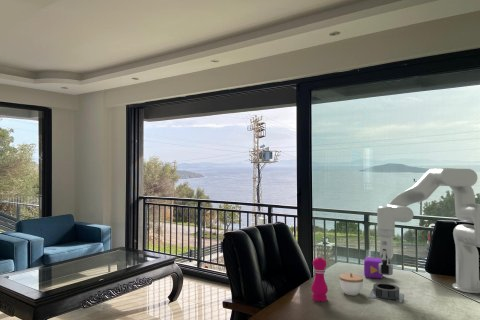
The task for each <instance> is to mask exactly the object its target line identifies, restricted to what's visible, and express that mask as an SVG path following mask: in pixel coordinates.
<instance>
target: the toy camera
mask: <svg viewBox="0 0 480 320" xmlns="http://www.w3.org/2000/svg"><path fill="white" fill-rule="evenodd" d="M381 262H382V258H381V257H380V258H379V257H371V256H370V255H369V256H366V257H365V259H364V262H363V274H364V277H365V278H371V279H379V280H380V279H382V278H383V276H384V275H383V274H380V273H379V263H381Z"/></svg>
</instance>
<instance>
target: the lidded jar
mask: <svg viewBox="0 0 480 320" xmlns="http://www.w3.org/2000/svg"><path fill="white" fill-rule="evenodd" d="M339 285H340V288H341V291H343V292H344V294H345V295H348V296H358V295H359V294H360V292H361V291H362V290H363V285H364V277H362V275H359V274H356V273H353V272H350V273H341V274H339Z"/></svg>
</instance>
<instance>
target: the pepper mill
mask: <svg viewBox="0 0 480 320" xmlns="http://www.w3.org/2000/svg"><path fill="white" fill-rule="evenodd" d="M312 266H313V267H314V268H313V272H314V280H313V282H312V284H311V288H310V289H311V292H312V300H313V301H315V302H320V301H321V302H326V301H327V294H328V291H329V289H328V285H327V283H326V281H325V273H326V267H327V261H326V259H325V258H323V257H322V254H318V255H317V257H315V258H314V259H313V260H312Z"/></svg>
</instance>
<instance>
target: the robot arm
mask: <svg viewBox="0 0 480 320" xmlns="http://www.w3.org/2000/svg"><path fill="white" fill-rule="evenodd" d="M477 182H478V174H477V173H476V171H474V170H473V169H471V168H449V167H434V168H433V167H432V168H430V169H428V170H426V172H425V173H424V174H423V175H422V176H421V177H420V178H419V179H418V180H417V181H416V182H415V183H414V184H413V185H412V186H411V187H409V188H408V189H406V190H404V191H402V192H400V193H399V194H397V195H395V197H393V198H392V199H391V200H389V202H388V204H387V205H379V206H378V207H377V211H376V213H377V215H376V216H377V217H376V218H377V219H376V220H377V221H376V223H377V224H376V227H377V228H376V231H377V232H376V236H378V237H379V257H380V259H382V262H381V273H382V274H389V265H388V264H391V260H392V259H393V257H394V245H393V244H394V241H393V238H395V236H396V235H395V232H396V228H395V227H396V226H395V225H396V222H398V223H409V222H411V221H412V220H413V218H414V212H413V210H412V208H410V207H408V206H411V205H413V204H415V203H416V204H417V203H421V202H424V201H426V200H428V199H429V197H431V196H432V195H433V193H434V192H435V191H437V189H438V188H439V187H449V188H450V189H451V190H452V192H453V197H454V209H455V210H454V211H455V212H454V213H455V216H456V219H457V220H459V221H461V222H463V223H464V222H465V223H464V224H463V223H462V224H460V223H459V224H458V225H456V226H455V227H454V228H453V232H452V235H453V240H454V244H455V245H454V246H455V283H453V284H452V288H453V289H454V290H457V291H460V292H463V293H470V294H480V268H479V267H480V262H479V261H480V259H479V258H480V255H479V250H478V248H480V203H476V197H475V196H476V195H475V190H474V189H473V187H472V186H474V185H475V184H477ZM466 223H469V224H466ZM470 223H471V224H470ZM472 224H473V225H472Z"/></svg>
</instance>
